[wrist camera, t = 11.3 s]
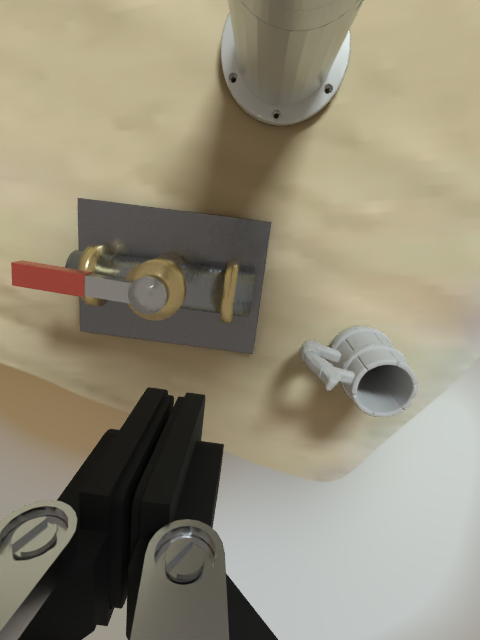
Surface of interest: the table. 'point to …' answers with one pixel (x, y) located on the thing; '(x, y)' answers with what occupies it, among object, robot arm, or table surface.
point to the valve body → (174, 273)
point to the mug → (364, 370)
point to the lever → (93, 285)
